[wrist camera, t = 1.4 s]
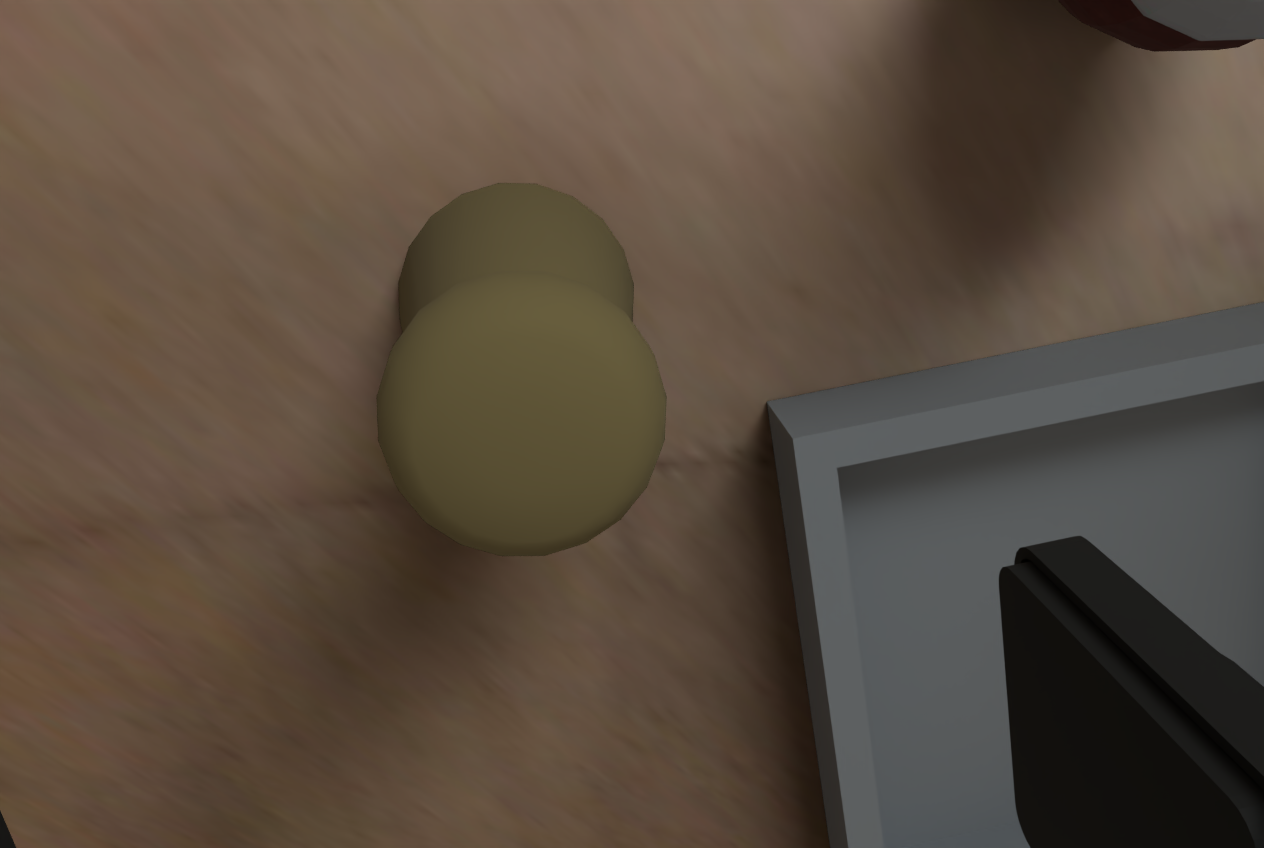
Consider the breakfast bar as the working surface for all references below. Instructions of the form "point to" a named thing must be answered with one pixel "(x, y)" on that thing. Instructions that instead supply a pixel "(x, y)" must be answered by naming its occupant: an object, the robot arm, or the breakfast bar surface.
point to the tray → (1004, 546)
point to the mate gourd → (1174, 22)
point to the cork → (519, 375)
